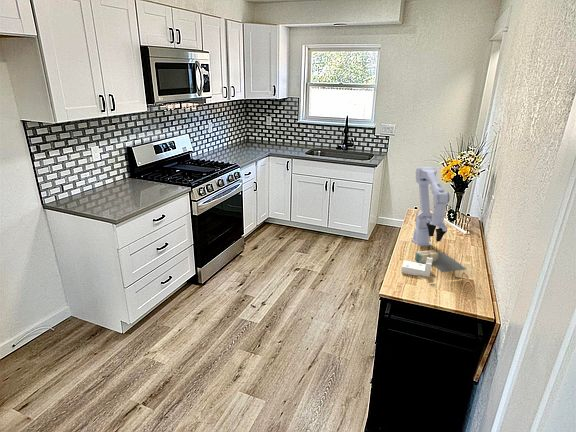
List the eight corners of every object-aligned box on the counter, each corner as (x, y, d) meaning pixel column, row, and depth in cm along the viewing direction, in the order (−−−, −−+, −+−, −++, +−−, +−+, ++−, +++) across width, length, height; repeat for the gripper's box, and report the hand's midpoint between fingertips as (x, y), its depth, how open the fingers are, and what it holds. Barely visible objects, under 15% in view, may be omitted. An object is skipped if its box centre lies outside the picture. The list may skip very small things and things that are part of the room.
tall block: (433, 257, 195) (415, 259, 194) (433, 249, 193) (415, 251, 192) (437, 261, 191) (419, 263, 190) (438, 253, 189) (419, 255, 188)
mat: (420, 255, 198) (420, 254, 198) (443, 253, 201) (443, 252, 201) (441, 273, 181) (441, 271, 181) (466, 270, 184) (466, 269, 184)
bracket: (430, 271, 182) (432, 258, 180) (429, 278, 176) (431, 264, 174) (403, 266, 187) (404, 253, 185) (401, 272, 181) (403, 259, 179)
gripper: (423, 210, 197) (420, 233, 202) (440, 220, 184) (435, 245, 189) (435, 209, 199) (431, 232, 204) (452, 219, 186) (448, 243, 190)
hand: (434, 238), depth 196 cm, fingers open, 6 cm apart
